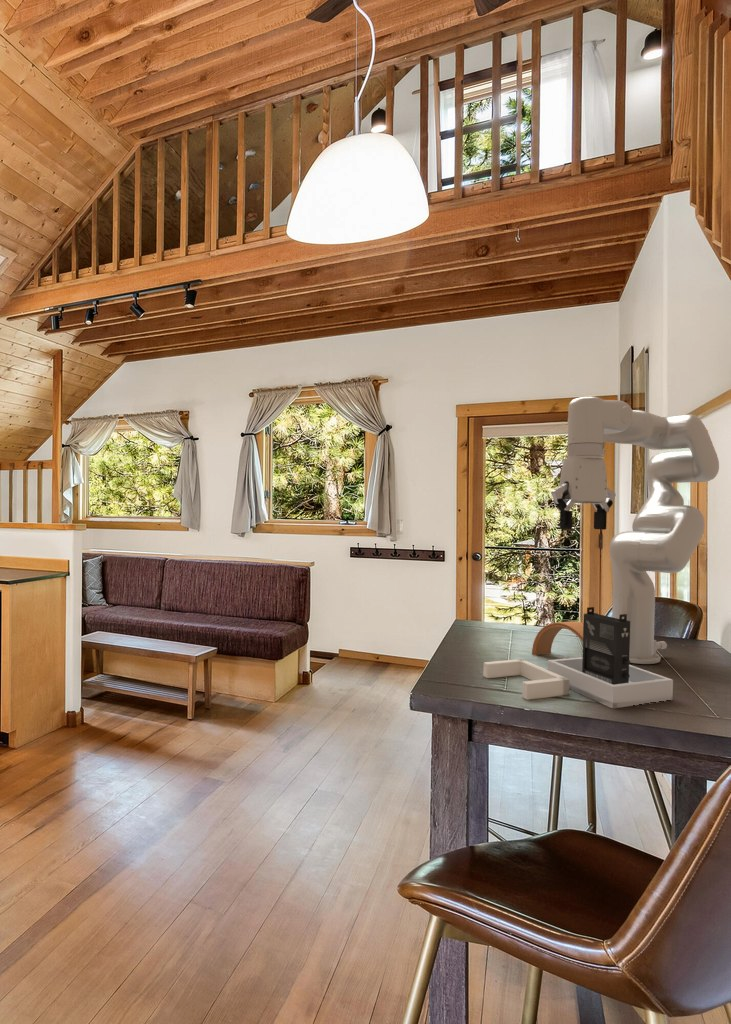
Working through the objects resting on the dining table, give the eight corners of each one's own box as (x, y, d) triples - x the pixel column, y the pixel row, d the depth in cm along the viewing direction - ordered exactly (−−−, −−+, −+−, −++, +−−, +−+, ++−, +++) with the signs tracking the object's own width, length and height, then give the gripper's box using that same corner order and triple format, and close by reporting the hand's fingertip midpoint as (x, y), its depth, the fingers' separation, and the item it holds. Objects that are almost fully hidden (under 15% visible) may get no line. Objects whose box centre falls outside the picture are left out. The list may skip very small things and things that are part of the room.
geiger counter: (637, 690, 106) (639, 614, 106) (621, 693, 104) (623, 616, 104) (594, 675, 115) (596, 605, 115) (578, 677, 114) (580, 607, 113)
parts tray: (601, 672, 121) (602, 655, 121) (672, 700, 104) (673, 679, 104) (547, 678, 116) (547, 660, 116) (612, 708, 99) (613, 686, 99)
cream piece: (521, 672, 120) (522, 658, 120) (569, 694, 106) (569, 679, 106) (483, 676, 116) (483, 662, 116) (526, 699, 102) (527, 684, 102)
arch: (595, 676, 118) (595, 630, 118) (531, 656, 136) (531, 617, 136) (614, 673, 120) (613, 628, 120) (549, 654, 138) (548, 615, 139)
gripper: (602, 456, 127) (600, 528, 127) (542, 452, 121) (540, 528, 121) (627, 454, 120) (625, 530, 120) (565, 449, 114) (563, 529, 114)
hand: (583, 529), depth 121 cm, fingers open, 9 cm apart
